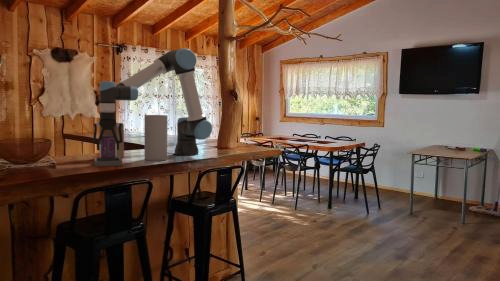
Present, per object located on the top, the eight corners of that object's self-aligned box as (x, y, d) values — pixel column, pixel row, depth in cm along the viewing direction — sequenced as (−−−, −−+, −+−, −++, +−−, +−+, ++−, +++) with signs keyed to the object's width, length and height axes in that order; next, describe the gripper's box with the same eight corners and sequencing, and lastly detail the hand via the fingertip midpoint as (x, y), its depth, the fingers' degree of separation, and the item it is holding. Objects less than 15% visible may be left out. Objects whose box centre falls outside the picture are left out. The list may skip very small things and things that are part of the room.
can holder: (120, 161, 216) (120, 157, 216) (122, 165, 204) (122, 160, 204) (94, 162, 211) (94, 157, 211) (94, 166, 199) (94, 161, 199)
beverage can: (103, 157, 211) (103, 134, 210) (117, 157, 211) (117, 134, 210) (98, 159, 204) (98, 135, 203) (112, 159, 204) (112, 136, 202)
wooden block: (115, 159, 222) (115, 123, 220) (99, 159, 224) (98, 123, 222) (124, 157, 232) (124, 123, 230) (108, 156, 234) (108, 122, 232)
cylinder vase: (152, 162, 219) (152, 116, 216) (140, 159, 227) (140, 115, 224) (171, 159, 228) (171, 115, 225) (158, 157, 236) (158, 114, 234)
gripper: (127, 111, 212) (127, 154, 214) (86, 111, 205) (87, 155, 207) (128, 112, 205) (128, 156, 207) (86, 111, 198) (87, 158, 200)
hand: (108, 156), depth 207 cm, fingers open, 7 cm apart
